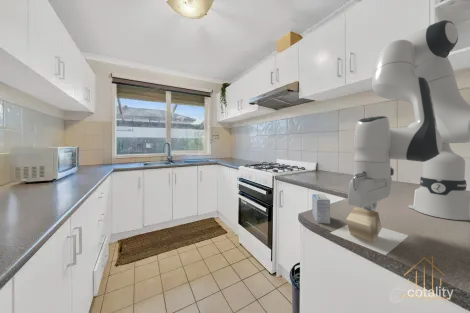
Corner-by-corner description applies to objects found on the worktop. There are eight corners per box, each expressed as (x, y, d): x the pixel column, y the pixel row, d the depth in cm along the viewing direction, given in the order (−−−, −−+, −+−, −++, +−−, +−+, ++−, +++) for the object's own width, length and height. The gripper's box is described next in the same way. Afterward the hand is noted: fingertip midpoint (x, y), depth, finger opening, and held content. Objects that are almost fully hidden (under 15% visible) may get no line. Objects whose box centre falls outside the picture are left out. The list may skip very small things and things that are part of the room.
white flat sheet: (357, 220, 66) (357, 220, 66) (409, 236, 54) (409, 235, 54) (329, 233, 56) (329, 232, 56) (385, 255, 44) (385, 255, 44)
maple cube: (355, 206, 56) (346, 219, 53) (378, 212, 51) (369, 226, 48) (358, 221, 58) (350, 234, 55) (381, 228, 53) (373, 242, 50)
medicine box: (330, 224, 63) (330, 199, 62) (316, 223, 64) (317, 199, 63) (324, 216, 71) (324, 194, 70) (311, 215, 71) (312, 193, 71)
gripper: (367, 175, 46) (366, 228, 47) (396, 169, 57) (394, 212, 58) (341, 172, 51) (341, 220, 52) (372, 167, 62) (371, 206, 63)
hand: (369, 216), depth 55 cm, fingers closed
